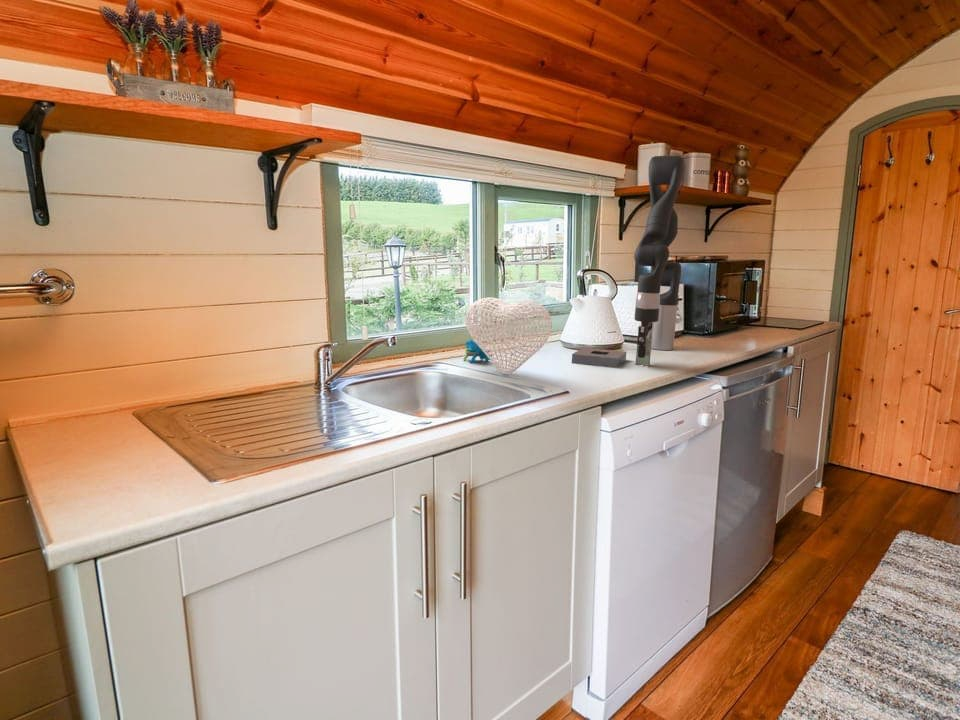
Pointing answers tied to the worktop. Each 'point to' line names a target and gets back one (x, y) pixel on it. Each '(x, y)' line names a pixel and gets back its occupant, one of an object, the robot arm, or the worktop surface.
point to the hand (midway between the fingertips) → (643, 355)
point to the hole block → (599, 357)
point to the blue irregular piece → (474, 351)
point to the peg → (646, 359)
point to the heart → (508, 330)
